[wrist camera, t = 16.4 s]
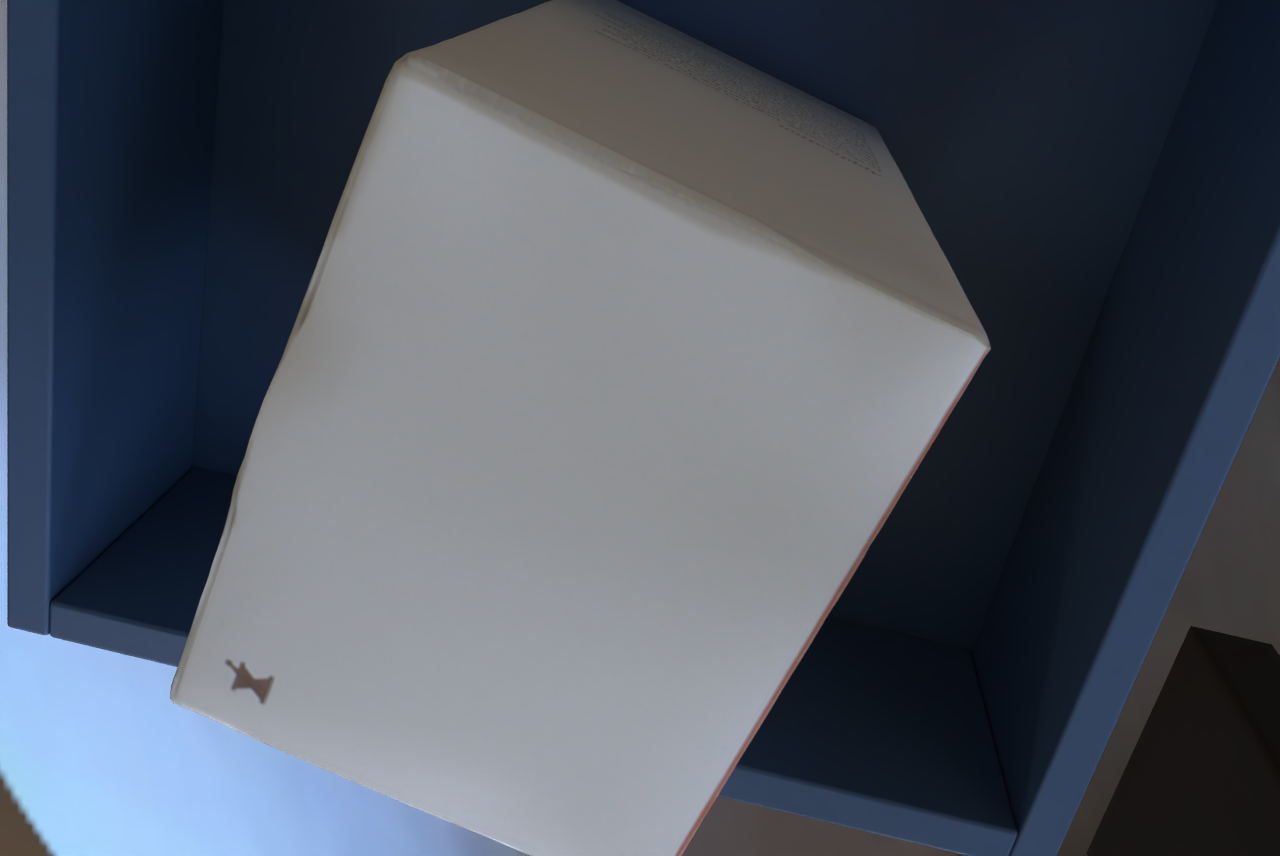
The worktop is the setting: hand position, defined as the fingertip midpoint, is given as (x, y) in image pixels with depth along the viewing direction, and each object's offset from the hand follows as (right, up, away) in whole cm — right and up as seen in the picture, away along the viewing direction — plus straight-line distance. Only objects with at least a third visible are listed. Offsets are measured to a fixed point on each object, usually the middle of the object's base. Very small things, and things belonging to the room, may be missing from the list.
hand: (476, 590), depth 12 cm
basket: (+2, +6, +14) cm, 15 cm away
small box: (+2, +5, +13) cm, 14 cm away
